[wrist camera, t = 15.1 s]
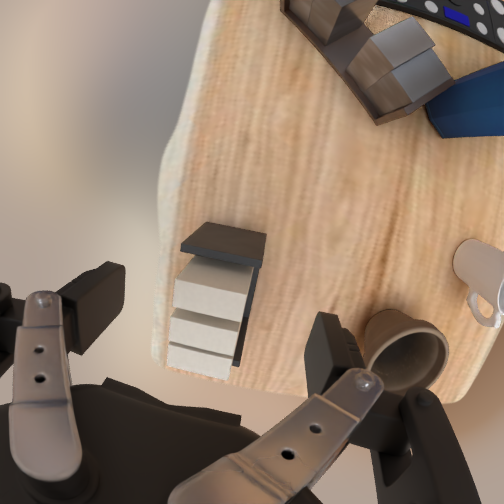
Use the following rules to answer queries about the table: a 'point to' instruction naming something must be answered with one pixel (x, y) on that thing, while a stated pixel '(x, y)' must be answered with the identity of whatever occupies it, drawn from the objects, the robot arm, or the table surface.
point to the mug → (482, 277)
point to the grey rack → (373, 55)
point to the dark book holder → (210, 327)
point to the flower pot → (404, 351)
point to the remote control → (460, 16)
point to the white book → (213, 288)
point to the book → (471, 105)
